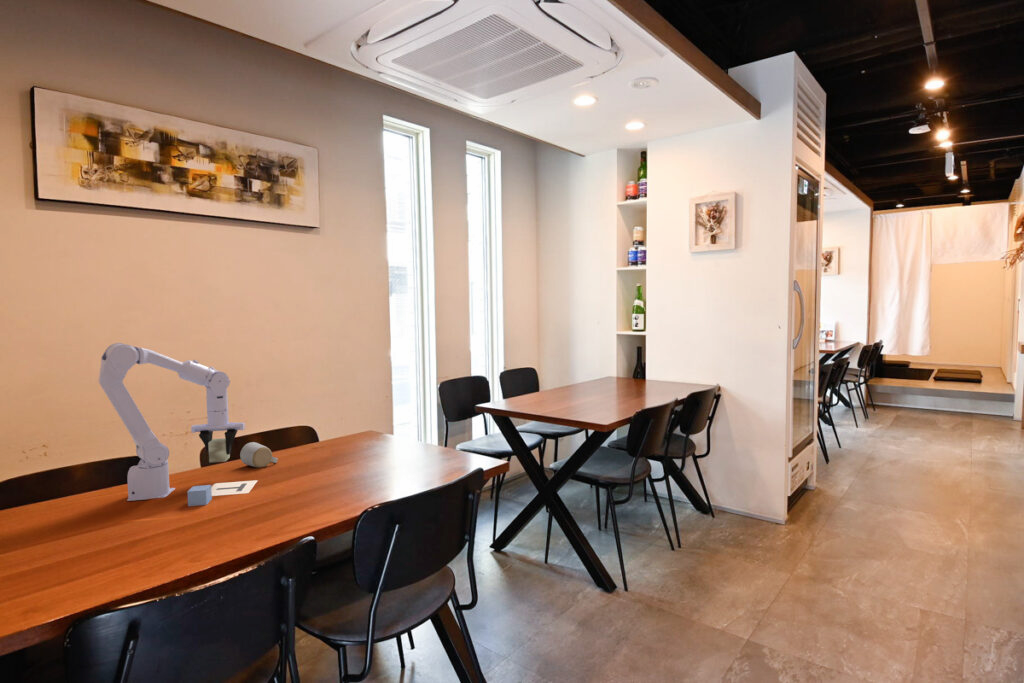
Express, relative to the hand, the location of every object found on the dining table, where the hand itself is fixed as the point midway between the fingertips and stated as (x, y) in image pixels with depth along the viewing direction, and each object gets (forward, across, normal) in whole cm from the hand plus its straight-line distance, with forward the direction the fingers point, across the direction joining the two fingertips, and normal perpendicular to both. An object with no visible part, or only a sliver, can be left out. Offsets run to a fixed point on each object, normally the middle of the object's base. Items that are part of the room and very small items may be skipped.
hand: (219, 454), depth 170 cm
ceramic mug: (+9, -8, -16) cm, 20 cm away
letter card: (+8, -5, +9) cm, 13 cm away
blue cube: (+8, 0, +20) cm, 22 cm away
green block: (+2, 0, 0) cm, 2 cm away
